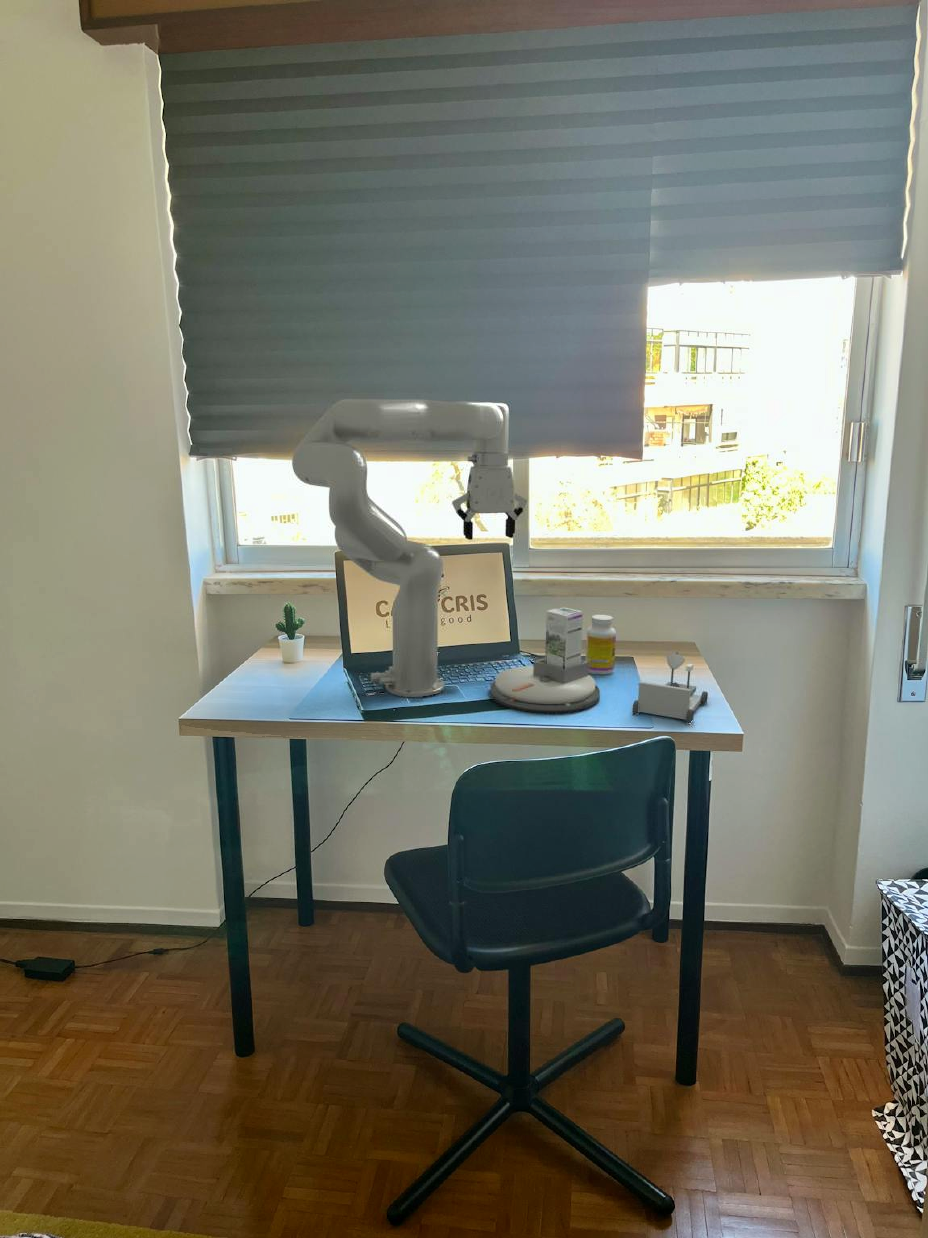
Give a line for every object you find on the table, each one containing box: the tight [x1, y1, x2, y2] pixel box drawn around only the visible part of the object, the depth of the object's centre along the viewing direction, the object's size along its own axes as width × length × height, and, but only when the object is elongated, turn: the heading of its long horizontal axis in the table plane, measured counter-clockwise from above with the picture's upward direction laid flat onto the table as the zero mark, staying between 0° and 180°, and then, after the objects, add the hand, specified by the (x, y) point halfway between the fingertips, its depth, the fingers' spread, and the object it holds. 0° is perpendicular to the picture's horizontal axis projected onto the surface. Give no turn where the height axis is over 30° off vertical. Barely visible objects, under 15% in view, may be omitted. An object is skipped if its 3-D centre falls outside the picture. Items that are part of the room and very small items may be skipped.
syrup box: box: [544, 606, 584, 669], centre depth 192 cm, size 6×6×14 cm
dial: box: [494, 657, 596, 704], centre depth 190 cm, size 21×21×4 cm
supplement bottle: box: [584, 614, 617, 676], centre depth 207 cm, size 7×7×13 cm
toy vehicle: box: [631, 652, 709, 724], centre depth 185 cm, size 18×10×12 cm
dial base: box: [489, 680, 601, 715], centre depth 191 cm, size 23×23×2 cm
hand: (489, 537), depth 202 cm, fingers open, 9 cm apart
